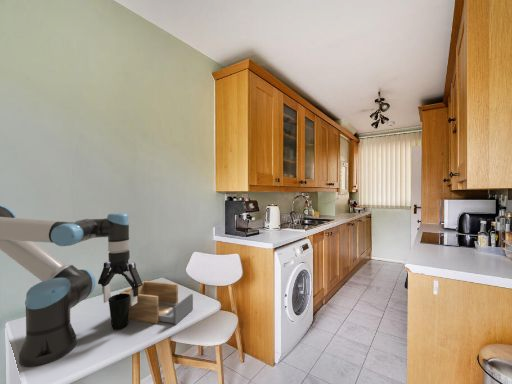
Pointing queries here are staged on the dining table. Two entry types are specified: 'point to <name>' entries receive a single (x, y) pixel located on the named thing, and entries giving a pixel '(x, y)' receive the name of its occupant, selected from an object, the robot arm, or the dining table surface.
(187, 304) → the grey drawer
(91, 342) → the dining table surface
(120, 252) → the robot arm
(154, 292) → the housing
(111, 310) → the cup
